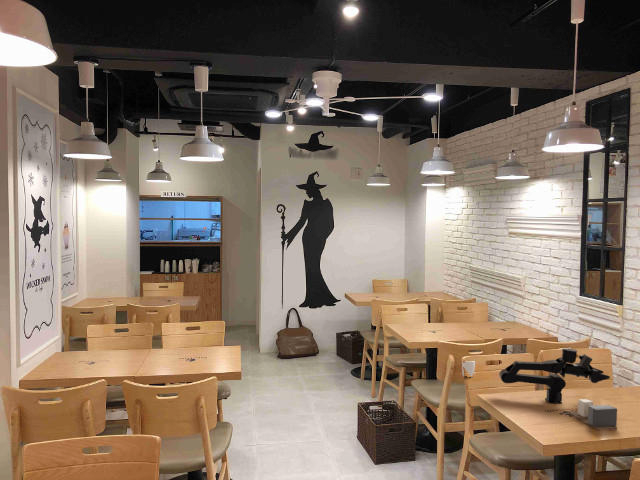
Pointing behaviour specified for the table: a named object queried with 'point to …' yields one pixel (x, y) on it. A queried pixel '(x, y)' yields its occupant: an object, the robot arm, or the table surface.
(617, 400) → the table surface
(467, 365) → the white cup
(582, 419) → the board
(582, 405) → the plug
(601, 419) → the socket housing
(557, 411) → the table surface
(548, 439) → the table surface
